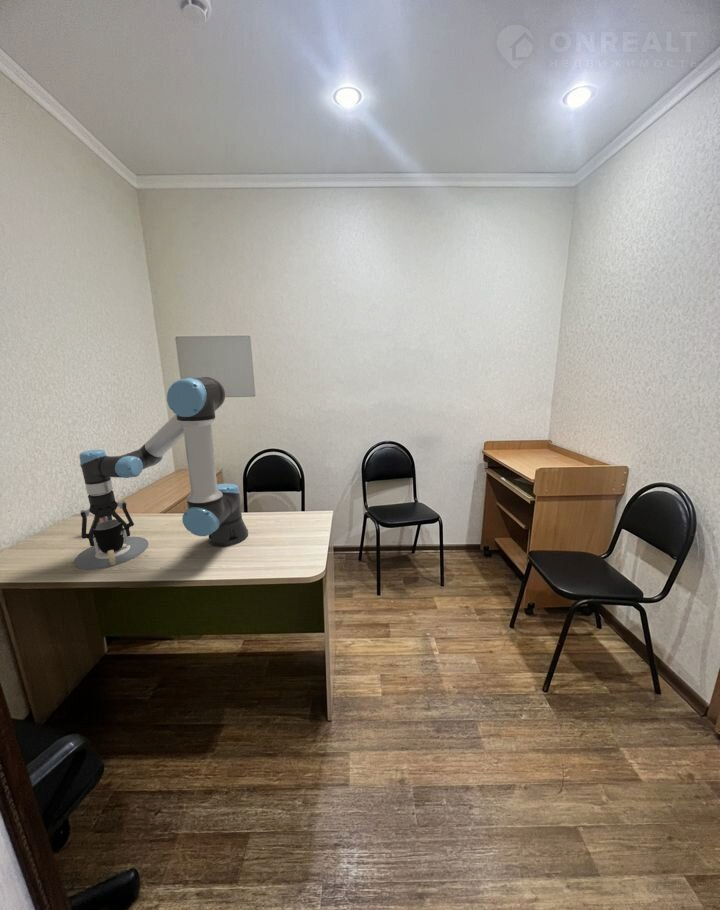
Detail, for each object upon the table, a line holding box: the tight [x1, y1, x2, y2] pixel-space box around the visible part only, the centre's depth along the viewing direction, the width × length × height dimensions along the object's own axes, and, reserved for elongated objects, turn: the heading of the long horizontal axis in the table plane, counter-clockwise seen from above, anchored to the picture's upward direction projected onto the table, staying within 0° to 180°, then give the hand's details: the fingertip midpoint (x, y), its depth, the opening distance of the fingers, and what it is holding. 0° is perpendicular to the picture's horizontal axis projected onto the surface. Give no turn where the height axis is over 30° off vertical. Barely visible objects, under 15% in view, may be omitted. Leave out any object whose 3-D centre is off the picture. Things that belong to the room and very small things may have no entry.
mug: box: [93, 518, 124, 553], centre depth 131 cm, size 12×9×10 cm
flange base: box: [73, 536, 149, 571], centre depth 131 cm, size 23×23×6 cm
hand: (112, 548), depth 131 cm, fingers closed on mug, 9 cm apart
